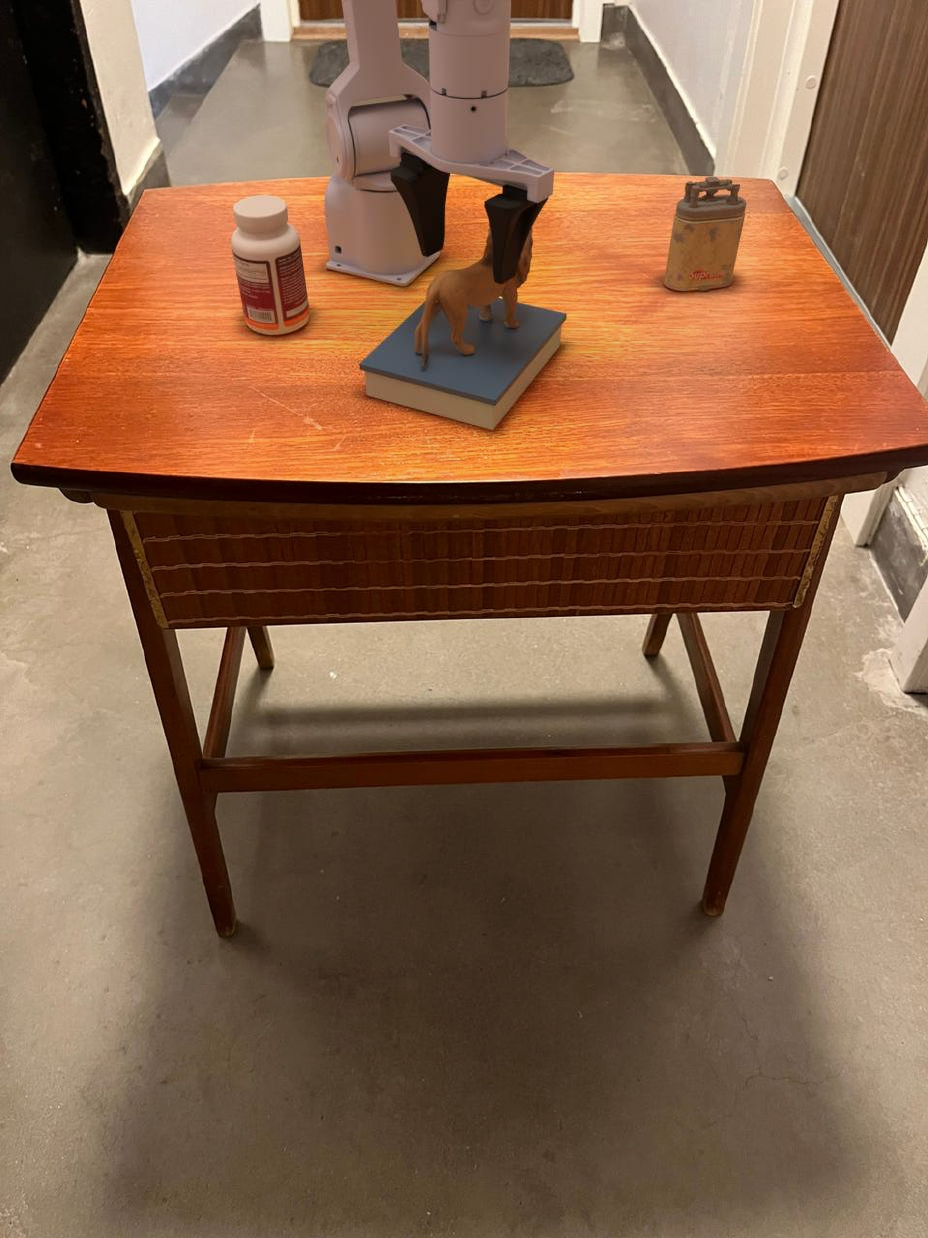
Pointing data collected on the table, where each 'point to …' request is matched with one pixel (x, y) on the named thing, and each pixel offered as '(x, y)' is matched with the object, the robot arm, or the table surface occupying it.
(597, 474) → the table surface
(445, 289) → the lion figurine
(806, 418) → the table surface
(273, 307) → the pill bottle
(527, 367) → the blue book
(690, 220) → the lighter
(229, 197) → the table surface
